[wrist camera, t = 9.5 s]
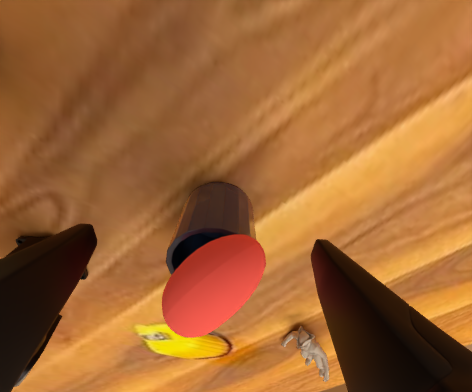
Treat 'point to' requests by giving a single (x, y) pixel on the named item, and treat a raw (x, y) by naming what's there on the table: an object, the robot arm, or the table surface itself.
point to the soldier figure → (310, 350)
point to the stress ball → (212, 284)
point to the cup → (210, 220)
